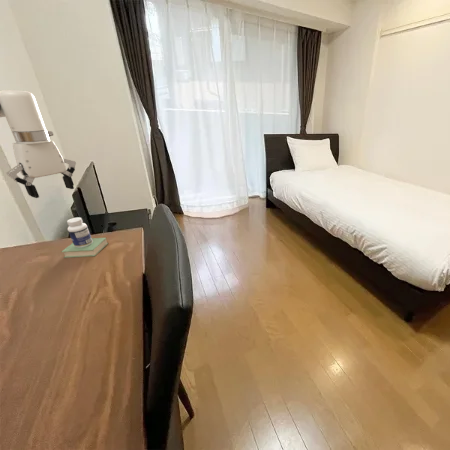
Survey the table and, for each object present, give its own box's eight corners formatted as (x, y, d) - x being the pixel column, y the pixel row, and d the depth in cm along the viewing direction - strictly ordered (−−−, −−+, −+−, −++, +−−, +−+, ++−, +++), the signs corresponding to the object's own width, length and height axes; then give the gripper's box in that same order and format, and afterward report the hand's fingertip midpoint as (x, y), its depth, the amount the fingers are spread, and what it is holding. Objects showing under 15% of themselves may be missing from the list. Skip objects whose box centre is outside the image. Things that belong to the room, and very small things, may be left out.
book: (64, 257, 93) (61, 251, 92) (80, 244, 101) (77, 238, 100) (95, 256, 94) (92, 250, 93) (108, 243, 102) (106, 237, 101)
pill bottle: (73, 244, 97) (63, 219, 92) (91, 239, 100) (82, 215, 96) (76, 250, 93) (65, 224, 89) (94, 244, 97) (85, 219, 92)
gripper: (58, 133, 88) (75, 183, 95) (-15, 139, 74) (12, 199, 81) (72, 134, 85) (89, 187, 93) (-1, 142, 71) (26, 203, 78)
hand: (53, 192), depth 87 cm, fingers open, 9 cm apart
